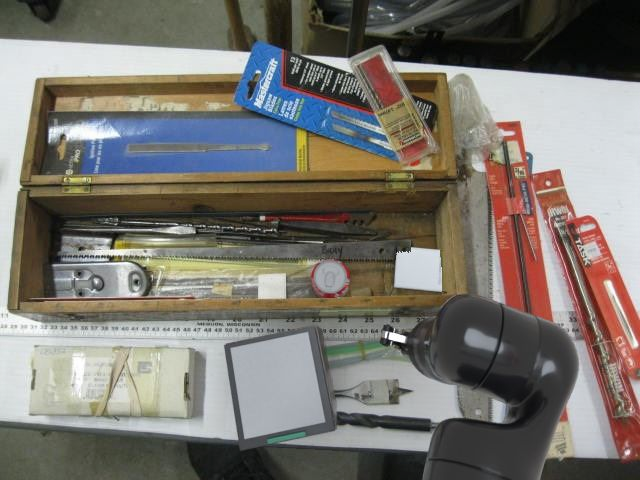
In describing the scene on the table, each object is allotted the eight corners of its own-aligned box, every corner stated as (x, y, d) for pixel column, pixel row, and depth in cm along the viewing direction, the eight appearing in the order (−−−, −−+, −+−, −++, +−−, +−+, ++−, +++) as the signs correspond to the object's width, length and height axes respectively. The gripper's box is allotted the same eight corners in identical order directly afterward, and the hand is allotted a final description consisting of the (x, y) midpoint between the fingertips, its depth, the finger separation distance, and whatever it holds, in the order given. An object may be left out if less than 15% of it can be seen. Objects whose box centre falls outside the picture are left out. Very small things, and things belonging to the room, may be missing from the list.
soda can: (351, 269, 90) (353, 259, 78) (346, 305, 89) (347, 299, 77) (315, 264, 91) (312, 253, 79) (310, 300, 89) (306, 294, 77)
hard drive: (395, 247, 91) (458, 253, 90) (393, 287, 89) (457, 294, 88) (396, 245, 89) (460, 251, 89) (394, 286, 88) (459, 293, 87)
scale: (335, 427, 60) (335, 432, 58) (242, 447, 60) (238, 452, 58) (315, 326, 63) (314, 325, 61) (227, 344, 63) (222, 345, 61)
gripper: (376, 365, 50) (366, 359, 67) (506, 400, 49) (463, 385, 66) (391, 299, 52) (378, 309, 68) (517, 331, 51) (473, 334, 67)
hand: (420, 346), depth 67 cm, fingers closed on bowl, 5 cm apart
